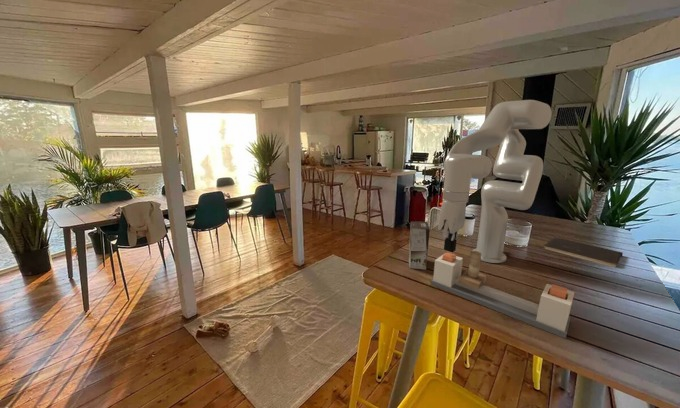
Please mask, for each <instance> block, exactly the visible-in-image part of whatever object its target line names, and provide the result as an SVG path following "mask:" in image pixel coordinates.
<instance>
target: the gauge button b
mask: <svg viewBox="0 0 680 408" xmlns="http://www.w3.org/2000/svg"><path fill="white" fill-rule="evenodd" d="M551 285H552V287H551V289H550V294H549V295H552V296H555V297H558V298H561V299H564V300H565V299H566V294H567V290H569V289H568V288H567V287H563V286H559V285H557V284H553V283H552V284H551Z"/></svg>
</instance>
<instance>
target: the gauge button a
mask: <svg viewBox="0 0 680 408" xmlns="http://www.w3.org/2000/svg"><path fill="white" fill-rule="evenodd" d="M443 254H444V255H443ZM443 254H442V255H443V257H442V260H444V261H448V262H451V263H453V262H455V261H456V256H457V254H454V253H452V252H449V251H447V252H445V253H443Z"/></svg>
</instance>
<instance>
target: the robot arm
mask: <svg viewBox="0 0 680 408" xmlns="http://www.w3.org/2000/svg"><path fill="white" fill-rule="evenodd" d="M551 119H552V109H551V106H550V105H549V104H548V103H545V102H542V101H539V100H535V99H523V100H522V99H521V100H509V101H502V102H499V103H497V104H496V105H495V106H493V108H492V109H491V111H490V112H489V114H488V115H487V116H486V118H485V120H484V122H483V123H482V124H481V126H480V128H479V129H477V130H475V131H473V132H471V133H470V134H467V135H466V136H465V137H462V138H461V139H459V140H458V141H457V142H456V143H455V144H454V145H453V146H452V147H451V149H450V151H448V153H447V155H446V157H445V159H444V161H443V170H444V180H443V191H442V203H441V207H440V212H439V218H438V224H437V231H439V232H440V231H442V237H443V238H444V243H443V244H444V245H443V250H444V251H447V252H449V253H454V252H455V251H456V248H457V239H458V235H459V231H460V230H462V229H463V228H464V225H465V221H466V210H467V209H466V208H467V203H469V199H470V198H469V197H470V191H471V182H472V180H474V179H476V180H482V179H484V178H486V177H487V176H489V175H490V173H491V172H492V173H493V176H495V177H497V178H500V179H503V180H496V179H495V180H494V179H493V180H489V181H486V182H485V183H484V184H483V185H482V187H481V191H480V195H481V196H480V197H481V211H480V212H481V213H480V218H479V219H480V220H479V225H478V227H479V228H478V235H477V242H476V248H473V249H472V250H471V251H477V252H480V253H481V261H482V262H485V263H491V264H492V263H493V264H503V263H505V262H506V261H507V255H506V254H505V253H504V248H505V247H504V246H505V241H506V235H507V228H508V222H509V216H508V213H507V210H506V208H509V209H510V208H511V209H514V210H520V211H526V210H528V209H530V208H531V207H532V205H533V204H534V201H535V198H536V195H537V192H538V188H539V185H540V182H541V178H542V176H543V170H544V162H543V159H542V158H541V157H540V156H538V155H532V154H524V153H525V150H526V146H527V141H526V138H525V137H524V136H523V135H522V133H521V132H520V131H519V130H542V129H544V128H546V127H547V126H548V125H549V123H550V121H551ZM497 146H499V149H498V152H497V154H496V157H495V160H494V165H493V163H492V160H491V159H490V157H488V156H486V155H482V154H474V153H477V152H480V151H484V150H488V149H492V148H494V147H497ZM492 168H493V169H492ZM505 180H513V181H514V180H515V181H522V182H521V183H520V182H512V181H505Z"/></svg>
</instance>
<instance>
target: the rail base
mask: <svg viewBox="0 0 680 408" xmlns="http://www.w3.org/2000/svg"><path fill="white" fill-rule="evenodd" d="M444 254H445V253H443V254H441V255H440V256H439V257H437V258H436V259H435V260H434V267H433V278H432V279H431V280H430V285H431V286H432V287H436V288H437V289H441V290H443V291H446V292H448V293H451V294H453V295H456V296H458V297H461V298H464V299H466V300H468V301H470V302H473V303H476V304H479V305H480V306H483V307H486V308H488V309H491V310H493V311H496V312H498V313H501V314H503V315H506V316H508V317H510V318H512V319H516V320H518V321H520V322H523V323H526V324H528V325H531V326H533V327H536V328H538V329H540V330H543V331H546V332H547V333H551V334H553V335H555V336H558V337H561V338H563V339H566V338H567V335H568V331H569V327H570V324H571V319H572V316H571V315H570V312H571V309H572V304H573V300H574V296H575V291H572V290H569V289H568V290H567V294H566V299H565V300H564V299H561V298H558V297H555V296H552V295H549V294H550V289H551V287H552V284H549V283H546V284H545V287H544V289H543V291H542V292H541V293H542V294H540V299H539V303H536V302H533V301H530V300H527V299H525V298H522V297H519V296H516V295H513V294H510V293H507V292H505V291H502V290H499V289H496V288H494V287H491V286H488V285H485V284H483V285H482V286H481V287H480V289H479V290H477V289H474V288H471V287H469V286H466V285H463V284H460V283H458V281H459V277H460V276H461V275H462V269H463V259H464V258H463V257H461V256H457V255H456V261H455V262H453V263H451V262H448V261H444V260H442V257H443V255H444Z"/></svg>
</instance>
